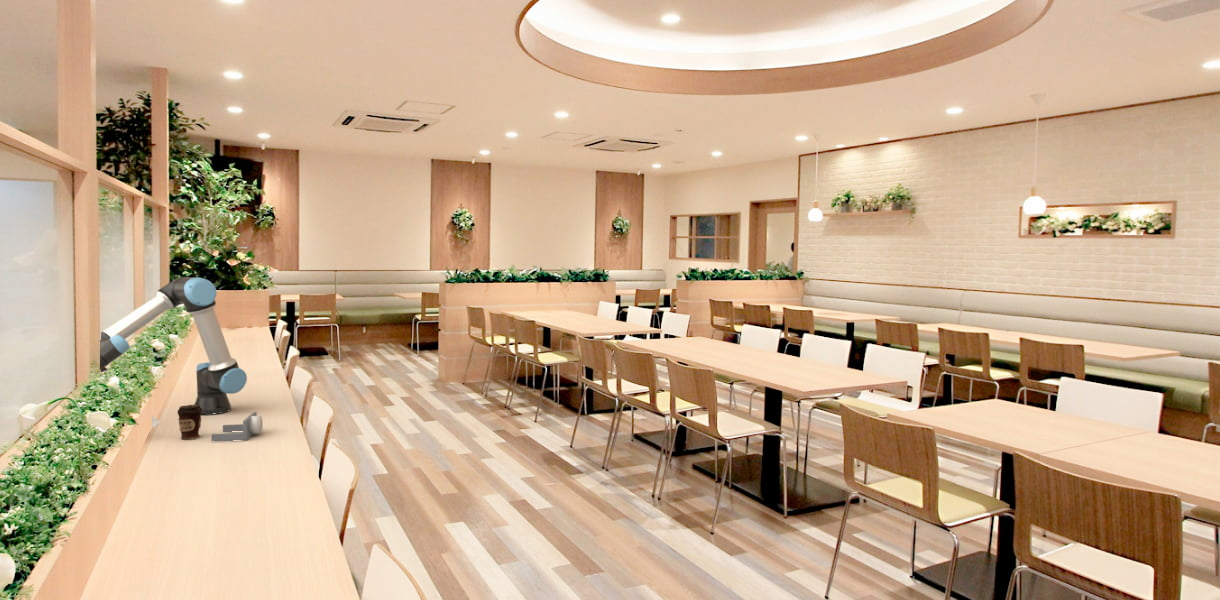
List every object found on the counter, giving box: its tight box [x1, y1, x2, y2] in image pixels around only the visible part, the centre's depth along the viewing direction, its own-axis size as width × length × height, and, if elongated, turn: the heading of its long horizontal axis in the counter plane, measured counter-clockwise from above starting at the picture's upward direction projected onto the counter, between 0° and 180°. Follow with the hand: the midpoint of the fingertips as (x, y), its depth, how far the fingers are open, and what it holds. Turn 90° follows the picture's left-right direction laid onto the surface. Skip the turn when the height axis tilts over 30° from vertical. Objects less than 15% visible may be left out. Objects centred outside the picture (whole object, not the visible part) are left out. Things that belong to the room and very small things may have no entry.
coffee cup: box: [177, 404, 202, 440], centre depth 285 cm, size 9×8×13 cm
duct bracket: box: [210, 411, 264, 442], centre depth 289 cm, size 15×16×8 cm
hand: (157, 425), depth 282 cm, fingers closed
